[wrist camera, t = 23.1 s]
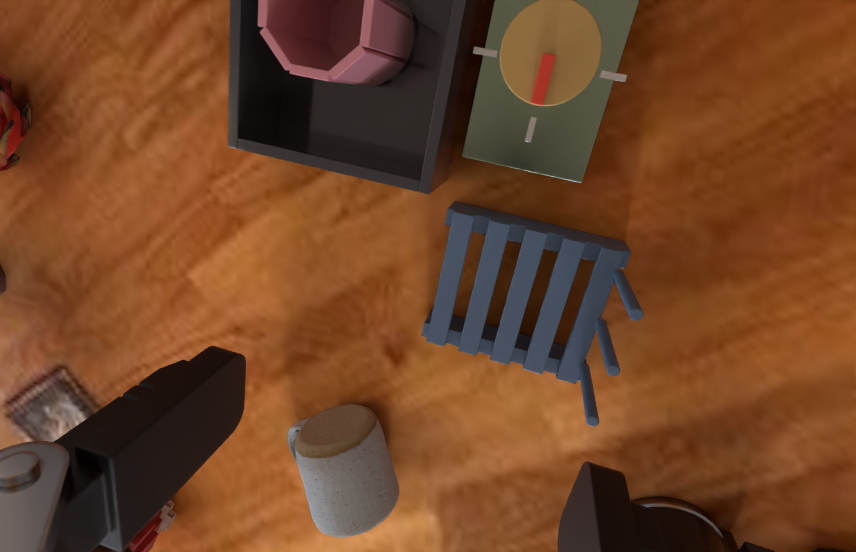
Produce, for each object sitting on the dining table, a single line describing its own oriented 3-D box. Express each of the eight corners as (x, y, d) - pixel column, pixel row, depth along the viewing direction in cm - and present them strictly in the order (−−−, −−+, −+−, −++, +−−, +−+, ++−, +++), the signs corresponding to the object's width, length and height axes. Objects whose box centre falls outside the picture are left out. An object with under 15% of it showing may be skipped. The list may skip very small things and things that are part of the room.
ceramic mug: (388, 394, 40) (353, 456, 33) (410, 471, 42) (383, 543, 35) (284, 401, 43) (232, 459, 36) (310, 472, 46) (267, 539, 39)
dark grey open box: (504, -104, 26) (494, -154, 21) (446, 180, 33) (429, 194, 27) (288, -134, 28) (232, -186, 23) (273, 140, 34) (227, 146, 29)
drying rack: (625, 241, 31) (655, 290, 23) (579, 364, 35) (591, 444, 27) (454, 200, 33) (425, 233, 25) (428, 322, 37) (396, 385, 29)
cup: (421, -12, 28) (380, -52, 21) (406, 92, 31) (363, 88, 23) (330, -28, 29) (260, -71, 22) (322, 75, 31) (256, 66, 24)
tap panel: (654, -34, 26) (667, -51, 23) (586, 178, 30) (591, 186, 28) (503, -57, 27) (498, -76, 24) (460, 150, 32) (452, 155, 29)
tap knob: (519, 13, 25) (512, -13, 20) (599, 26, 25) (617, 3, 19) (500, 97, 27) (489, 96, 21) (575, 112, 27) (585, 114, 21)
